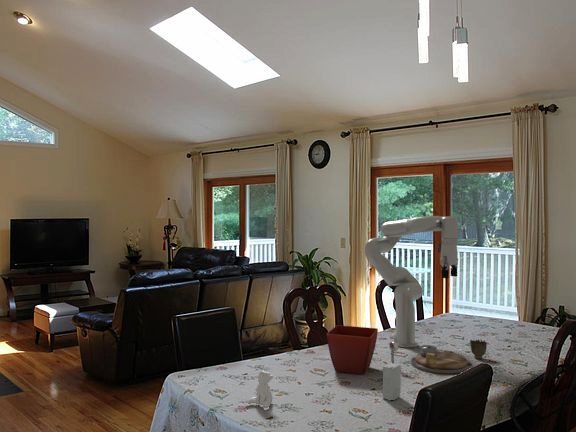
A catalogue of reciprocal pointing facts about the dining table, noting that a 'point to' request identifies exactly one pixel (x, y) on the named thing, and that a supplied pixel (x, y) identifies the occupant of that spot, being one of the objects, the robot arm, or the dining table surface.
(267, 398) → the sitting furry creature
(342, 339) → the plant pot
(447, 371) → the turntable base
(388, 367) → the skincare box
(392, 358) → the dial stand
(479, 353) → the cup
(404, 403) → the dining table surface
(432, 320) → the dining table surface
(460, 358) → the platter
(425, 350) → the cover
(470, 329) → the dining table surface
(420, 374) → the dining table surface
